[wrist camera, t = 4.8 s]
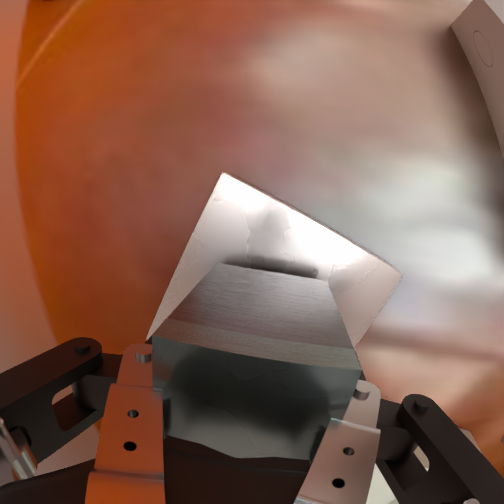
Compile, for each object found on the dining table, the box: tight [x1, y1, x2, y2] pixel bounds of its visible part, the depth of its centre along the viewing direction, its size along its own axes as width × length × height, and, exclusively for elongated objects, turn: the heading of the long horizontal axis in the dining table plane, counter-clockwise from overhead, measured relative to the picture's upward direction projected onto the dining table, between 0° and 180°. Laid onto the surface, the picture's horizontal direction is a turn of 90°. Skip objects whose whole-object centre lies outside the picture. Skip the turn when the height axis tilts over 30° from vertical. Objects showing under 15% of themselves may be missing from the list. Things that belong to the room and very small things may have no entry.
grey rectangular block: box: [152, 263, 362, 463], centre depth 10 cm, size 5×5×7 cm
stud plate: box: [146, 173, 403, 348], centre depth 14 cm, size 10×10×7 cm
